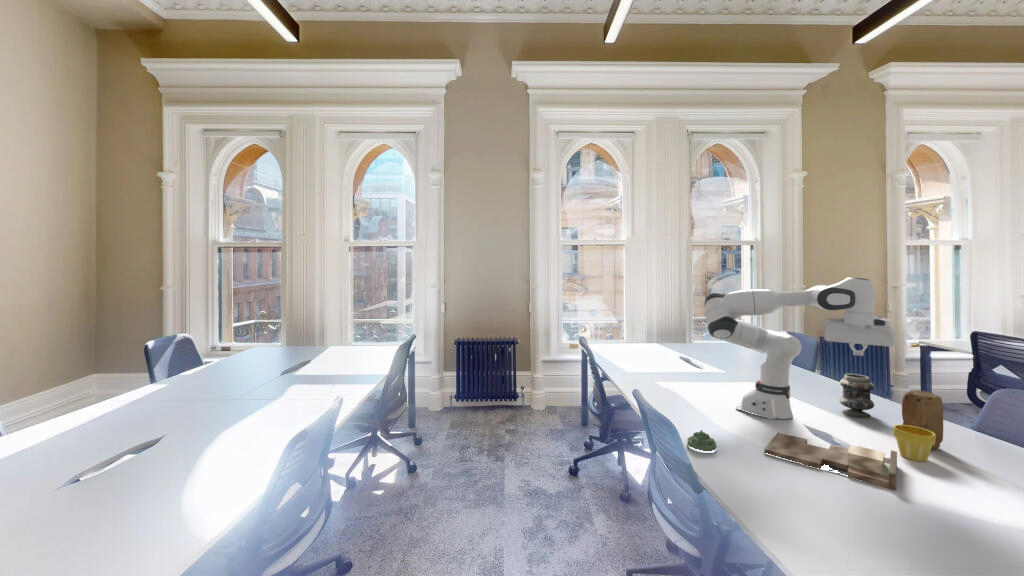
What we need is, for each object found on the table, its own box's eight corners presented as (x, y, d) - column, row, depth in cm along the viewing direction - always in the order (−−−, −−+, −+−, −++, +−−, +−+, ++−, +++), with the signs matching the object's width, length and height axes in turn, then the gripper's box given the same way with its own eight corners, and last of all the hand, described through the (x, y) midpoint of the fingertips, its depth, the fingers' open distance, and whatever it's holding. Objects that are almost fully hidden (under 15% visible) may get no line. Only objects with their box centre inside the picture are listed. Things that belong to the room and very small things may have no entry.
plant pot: (922, 452, 139) (922, 426, 139) (943, 466, 130) (943, 437, 129) (886, 448, 143) (886, 422, 142) (904, 461, 133) (904, 434, 133)
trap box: (764, 454, 140) (764, 441, 140) (777, 437, 155) (777, 424, 154) (895, 490, 116) (895, 474, 116) (896, 466, 130) (897, 451, 130)
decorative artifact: (712, 456, 140) (719, 447, 147) (711, 438, 140) (719, 429, 147) (683, 448, 147) (692, 440, 154) (683, 430, 146) (692, 423, 154)
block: (945, 451, 140) (946, 397, 139) (922, 450, 141) (923, 396, 140) (919, 438, 151) (919, 388, 150) (897, 437, 152) (898, 387, 151)
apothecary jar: (870, 412, 179) (870, 374, 178) (877, 421, 169) (877, 380, 168) (836, 408, 185) (837, 371, 185) (841, 416, 175) (841, 377, 174)
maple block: (847, 464, 128) (847, 452, 128) (850, 455, 134) (850, 444, 134) (882, 473, 122) (882, 461, 122) (884, 464, 128) (884, 452, 128)
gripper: (822, 318, 152) (822, 353, 152) (895, 322, 137) (895, 360, 138) (825, 317, 156) (824, 350, 157) (895, 320, 142) (895, 357, 142)
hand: (858, 355), depth 147 cm, fingers closed
